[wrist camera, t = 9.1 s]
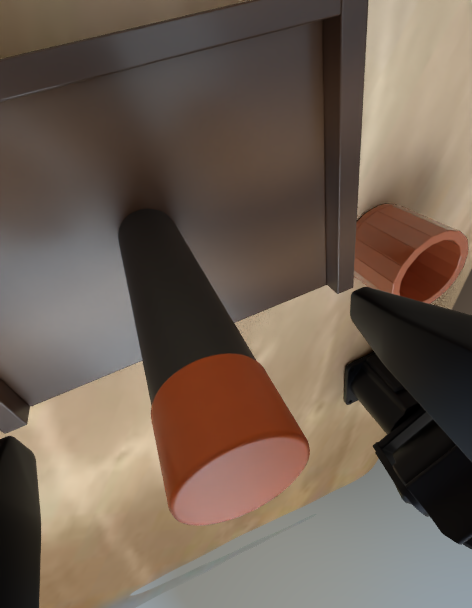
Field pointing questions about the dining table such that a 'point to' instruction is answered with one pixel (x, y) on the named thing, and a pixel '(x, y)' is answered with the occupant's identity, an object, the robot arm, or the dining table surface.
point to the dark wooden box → (173, 175)
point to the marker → (203, 384)
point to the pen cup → (407, 253)
